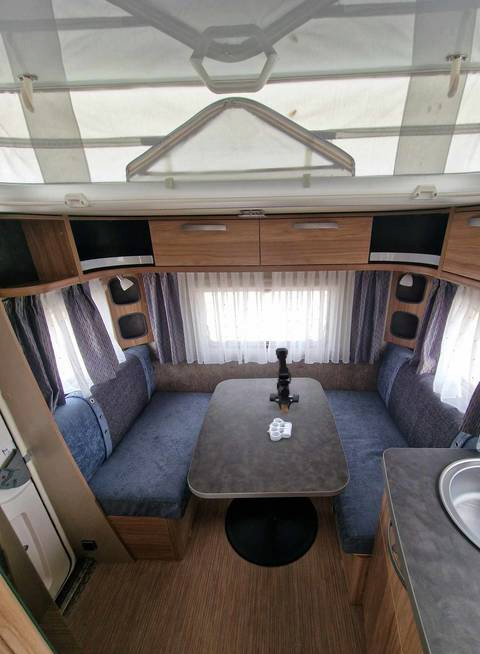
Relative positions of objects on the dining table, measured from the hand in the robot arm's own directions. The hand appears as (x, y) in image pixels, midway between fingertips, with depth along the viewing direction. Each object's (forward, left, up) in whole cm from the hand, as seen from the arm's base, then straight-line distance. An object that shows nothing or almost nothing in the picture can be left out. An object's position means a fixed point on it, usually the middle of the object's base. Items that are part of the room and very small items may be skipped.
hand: (284, 409), depth 186 cm
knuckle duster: (-2, -15, -7) cm, 17 cm away
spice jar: (0, 0, -2) cm, 2 cm away
